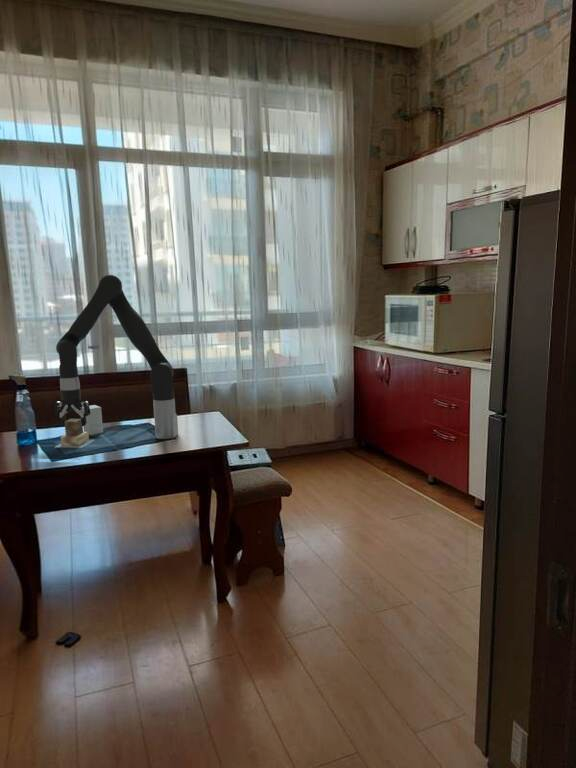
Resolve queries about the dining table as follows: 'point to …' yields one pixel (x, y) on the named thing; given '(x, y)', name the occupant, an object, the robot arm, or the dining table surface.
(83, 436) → the beech block
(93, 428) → the small box
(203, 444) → the dining table surface
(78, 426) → the walnut block
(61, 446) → the board
